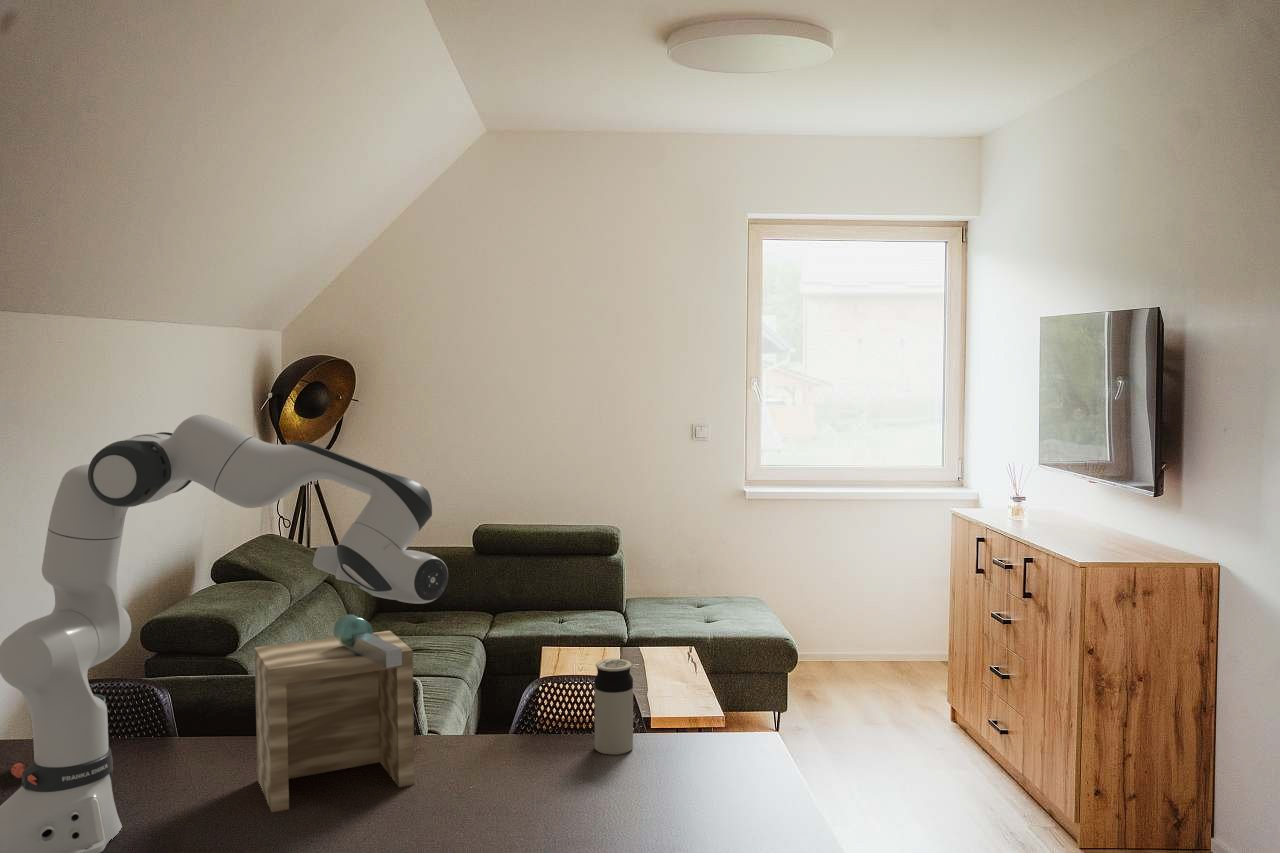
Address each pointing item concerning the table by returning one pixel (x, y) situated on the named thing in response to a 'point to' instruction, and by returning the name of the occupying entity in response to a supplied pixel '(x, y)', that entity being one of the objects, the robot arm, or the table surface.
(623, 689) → the travel mug
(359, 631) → the teal maraca
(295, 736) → the oak shelf
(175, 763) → the table surface
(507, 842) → the table surface
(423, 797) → the table surface
